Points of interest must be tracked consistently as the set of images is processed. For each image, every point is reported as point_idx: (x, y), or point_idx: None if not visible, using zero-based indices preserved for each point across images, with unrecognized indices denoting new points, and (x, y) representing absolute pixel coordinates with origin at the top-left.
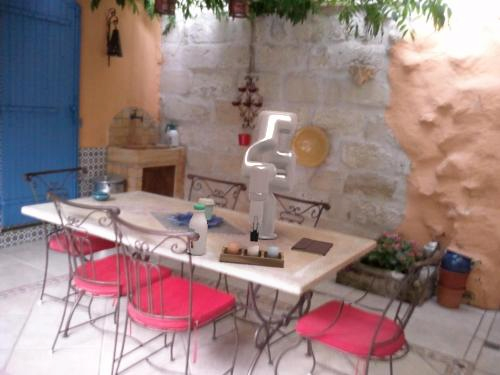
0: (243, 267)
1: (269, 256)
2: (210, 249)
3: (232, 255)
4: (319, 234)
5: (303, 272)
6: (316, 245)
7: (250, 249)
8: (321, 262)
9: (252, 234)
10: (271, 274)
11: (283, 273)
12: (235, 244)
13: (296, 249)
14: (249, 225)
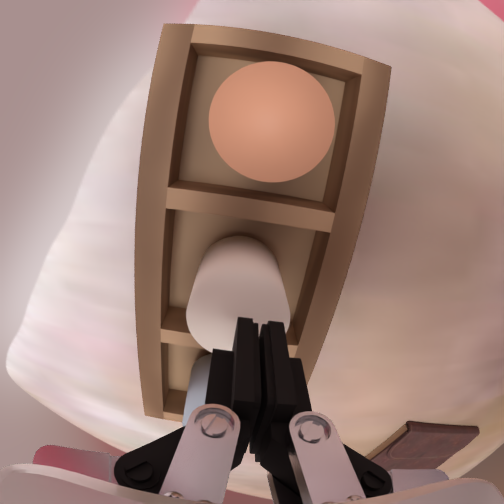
0: (93, 195)
1: (195, 373)
2: (432, 29)
3: (146, 116)
4: (491, 442)
5: (130, 428)
6: (409, 467)
7: (196, 281)
8: (261, 478)
9: (232, 388)
10: (50, 323)
11: (84, 370)
12: (252, 141)
13: (395, 437)
14: (29, 466)
